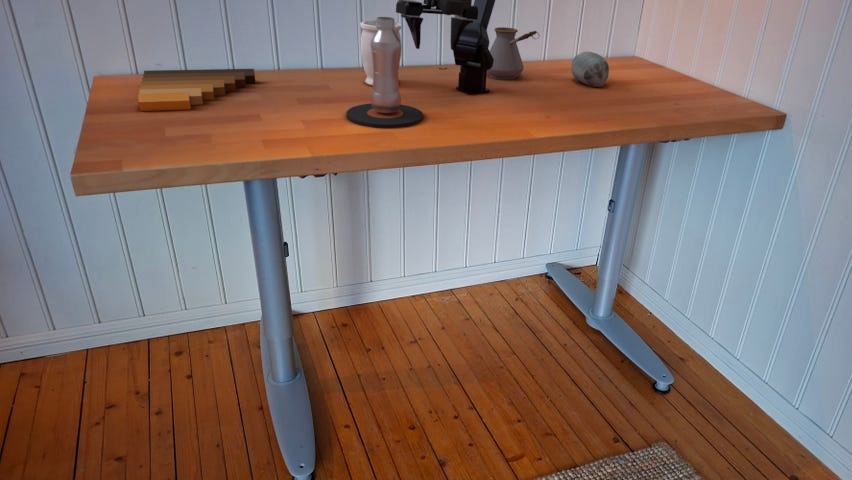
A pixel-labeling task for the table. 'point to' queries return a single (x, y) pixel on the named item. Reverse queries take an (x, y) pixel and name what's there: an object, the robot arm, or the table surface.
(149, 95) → the pan flute
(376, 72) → the plastic bottle
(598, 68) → the grey river stone
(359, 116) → the ring
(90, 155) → the table surface
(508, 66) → the coffee pot
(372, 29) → the jar
